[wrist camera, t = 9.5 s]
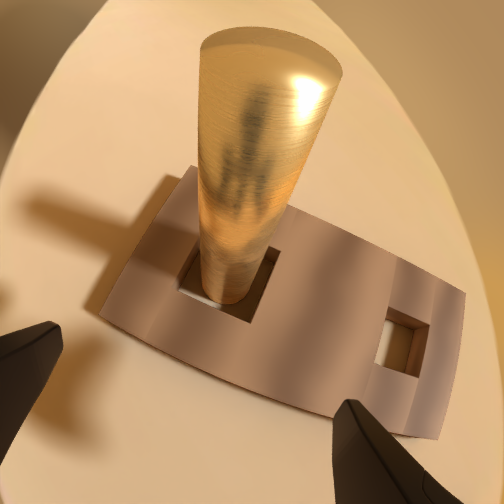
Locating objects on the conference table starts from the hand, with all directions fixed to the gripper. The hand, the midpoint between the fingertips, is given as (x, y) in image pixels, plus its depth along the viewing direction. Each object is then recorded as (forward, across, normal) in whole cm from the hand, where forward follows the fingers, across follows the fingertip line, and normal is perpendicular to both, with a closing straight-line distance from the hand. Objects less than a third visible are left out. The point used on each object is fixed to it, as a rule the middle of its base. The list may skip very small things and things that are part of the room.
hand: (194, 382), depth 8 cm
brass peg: (+12, 0, +2) cm, 12 cm away
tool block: (+11, -6, +3) cm, 13 cm away
